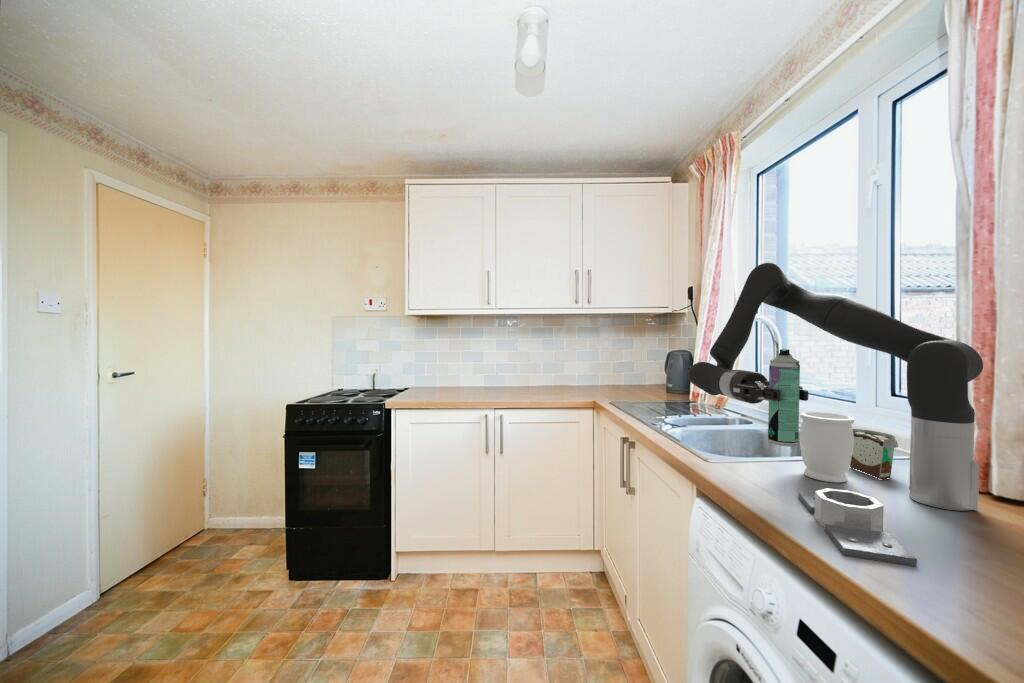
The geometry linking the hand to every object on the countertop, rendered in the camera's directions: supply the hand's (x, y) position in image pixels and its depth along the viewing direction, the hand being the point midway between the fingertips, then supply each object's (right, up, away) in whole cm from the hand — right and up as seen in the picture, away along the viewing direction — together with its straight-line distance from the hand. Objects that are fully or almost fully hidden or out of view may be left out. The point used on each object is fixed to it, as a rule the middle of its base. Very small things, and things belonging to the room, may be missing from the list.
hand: (792, 395), depth 90 cm
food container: (+32, -22, +18) cm, 43 cm away
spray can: (0, -11, +3) cm, 11 cm away
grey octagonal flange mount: (+2, -22, -12) cm, 25 cm away
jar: (+17, -22, +15) cm, 32 cm away
